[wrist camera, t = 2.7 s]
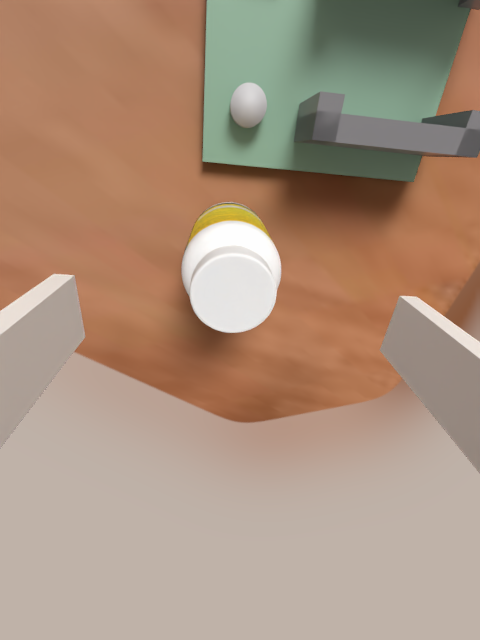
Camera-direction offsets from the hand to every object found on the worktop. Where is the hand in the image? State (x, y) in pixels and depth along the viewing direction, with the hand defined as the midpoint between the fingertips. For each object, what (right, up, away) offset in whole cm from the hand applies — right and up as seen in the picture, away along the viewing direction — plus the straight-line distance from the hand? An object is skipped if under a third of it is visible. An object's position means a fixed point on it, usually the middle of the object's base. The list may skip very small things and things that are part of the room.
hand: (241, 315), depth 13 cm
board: (+5, +15, +5) cm, 17 cm away
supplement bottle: (-1, +6, +10) cm, 11 cm away
